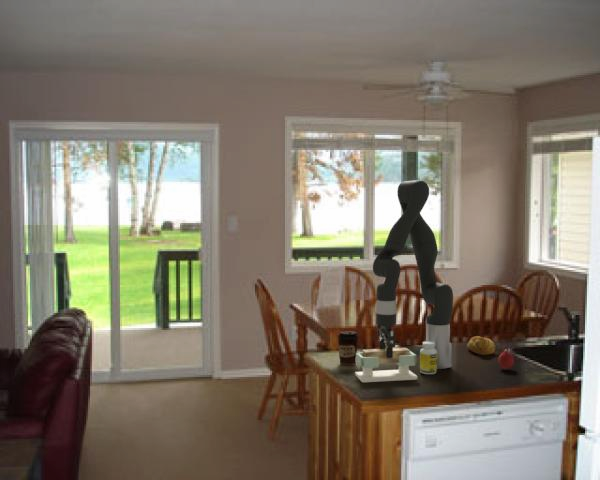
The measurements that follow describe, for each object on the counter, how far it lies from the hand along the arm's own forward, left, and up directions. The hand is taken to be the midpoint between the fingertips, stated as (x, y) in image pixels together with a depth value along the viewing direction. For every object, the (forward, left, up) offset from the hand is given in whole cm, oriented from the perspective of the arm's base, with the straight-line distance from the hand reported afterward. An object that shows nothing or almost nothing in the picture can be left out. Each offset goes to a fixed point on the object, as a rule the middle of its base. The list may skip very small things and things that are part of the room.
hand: (385, 355), depth 242 cm
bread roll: (-52, -29, -9) cm, 60 cm away
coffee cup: (+9, -21, -9) cm, 24 cm away
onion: (-49, -1, -9) cm, 50 cm away
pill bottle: (-18, -3, -9) cm, 20 cm away
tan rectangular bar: (0, 0, -3) cm, 3 cm away
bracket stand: (0, 0, -8) cm, 8 cm away
